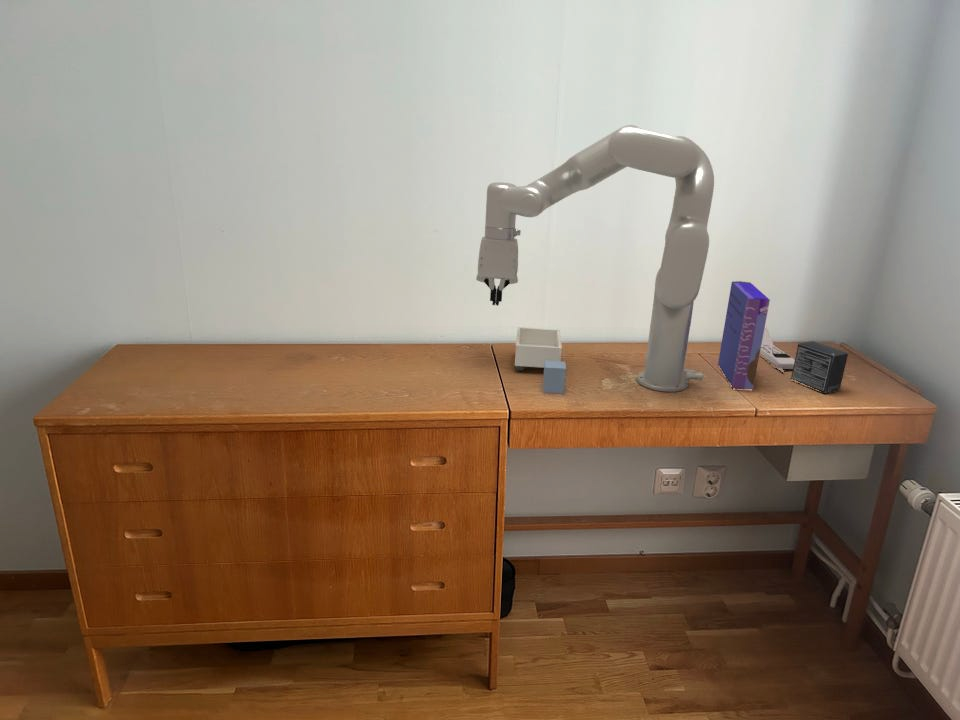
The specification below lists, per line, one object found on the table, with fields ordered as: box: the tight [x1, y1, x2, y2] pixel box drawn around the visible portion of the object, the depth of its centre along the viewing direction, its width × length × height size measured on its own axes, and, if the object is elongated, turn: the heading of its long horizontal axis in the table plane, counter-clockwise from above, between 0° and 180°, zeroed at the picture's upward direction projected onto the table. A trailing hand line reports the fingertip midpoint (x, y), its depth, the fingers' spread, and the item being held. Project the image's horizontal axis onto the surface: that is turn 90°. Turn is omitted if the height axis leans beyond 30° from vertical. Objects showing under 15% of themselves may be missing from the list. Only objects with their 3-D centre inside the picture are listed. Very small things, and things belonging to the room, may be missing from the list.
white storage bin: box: [514, 326, 563, 372], centre depth 184 cm, size 12×16×7 cm
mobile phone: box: [760, 326, 795, 371], centre depth 198 cm, size 6×6×25 cm
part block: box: [542, 360, 567, 395], centre depth 169 cm, size 5×5×7 cm
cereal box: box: [717, 280, 771, 390], centre depth 179 cm, size 17×5×24 cm, turn 174°
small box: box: [790, 340, 849, 395], centre depth 178 cm, size 11×6×10 cm, turn 29°
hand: (495, 303), depth 181 cm, fingers closed
